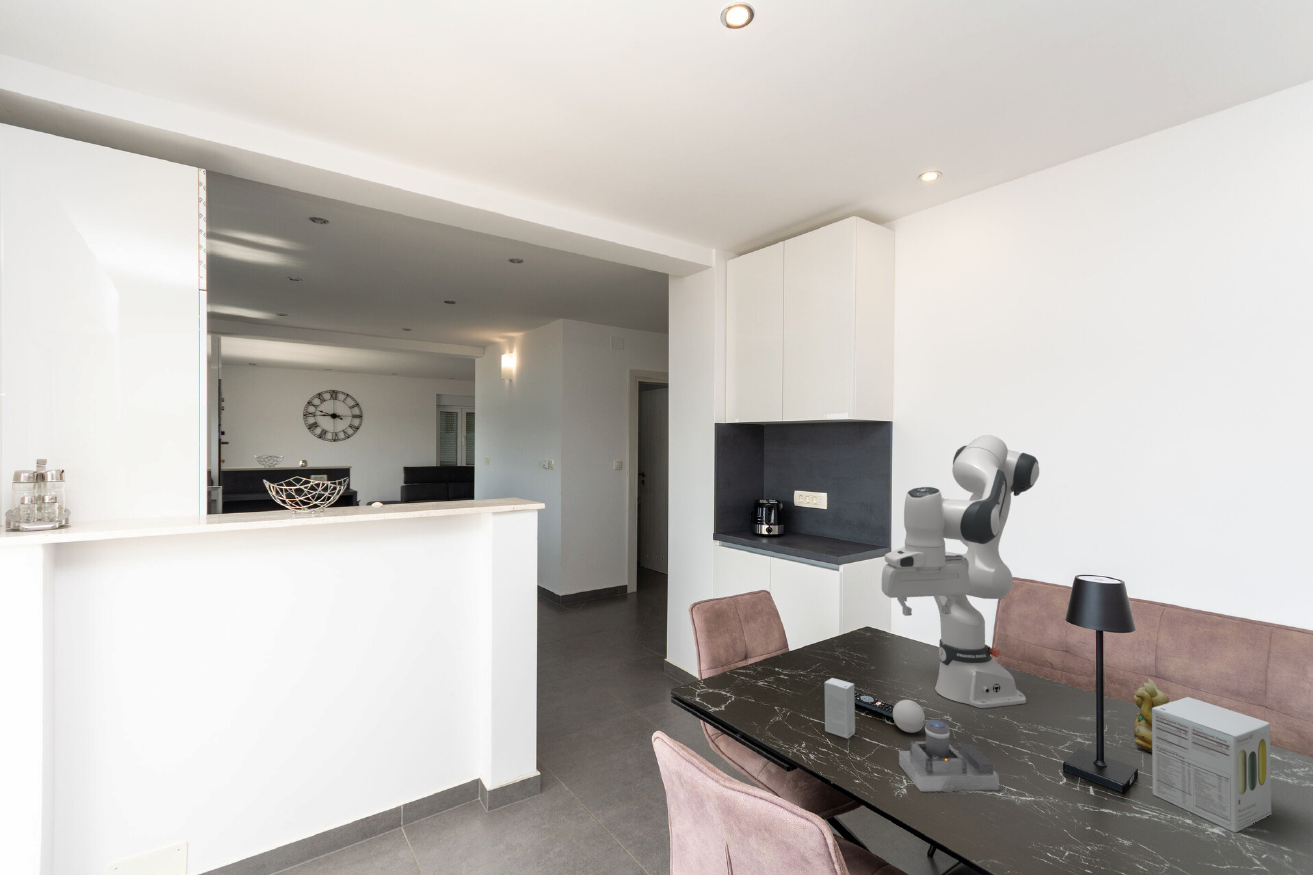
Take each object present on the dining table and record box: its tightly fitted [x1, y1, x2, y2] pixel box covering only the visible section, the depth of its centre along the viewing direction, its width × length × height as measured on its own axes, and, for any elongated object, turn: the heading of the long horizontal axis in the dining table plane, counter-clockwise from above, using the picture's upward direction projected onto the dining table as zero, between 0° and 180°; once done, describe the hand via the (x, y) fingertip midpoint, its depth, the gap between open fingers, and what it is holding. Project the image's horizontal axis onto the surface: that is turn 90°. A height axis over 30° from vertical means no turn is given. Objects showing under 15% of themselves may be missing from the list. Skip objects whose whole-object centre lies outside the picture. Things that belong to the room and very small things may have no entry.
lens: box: [924, 719, 950, 759], centre depth 125 cm, size 5×5×8 cm
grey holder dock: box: [898, 740, 1000, 793], centre depth 125 cm, size 16×10×6 cm, turn 91°
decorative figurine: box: [1133, 678, 1171, 753], centre depth 136 cm, size 10×8×15 cm
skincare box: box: [824, 677, 856, 739], centre depth 144 cm, size 6×4×12 cm
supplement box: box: [1151, 696, 1272, 834], centre depth 115 cm, size 13×13×18 cm
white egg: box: [892, 699, 927, 734], centre depth 146 cm, size 10×7×7 cm
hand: (926, 614), depth 141 cm, fingers open, 8 cm apart
